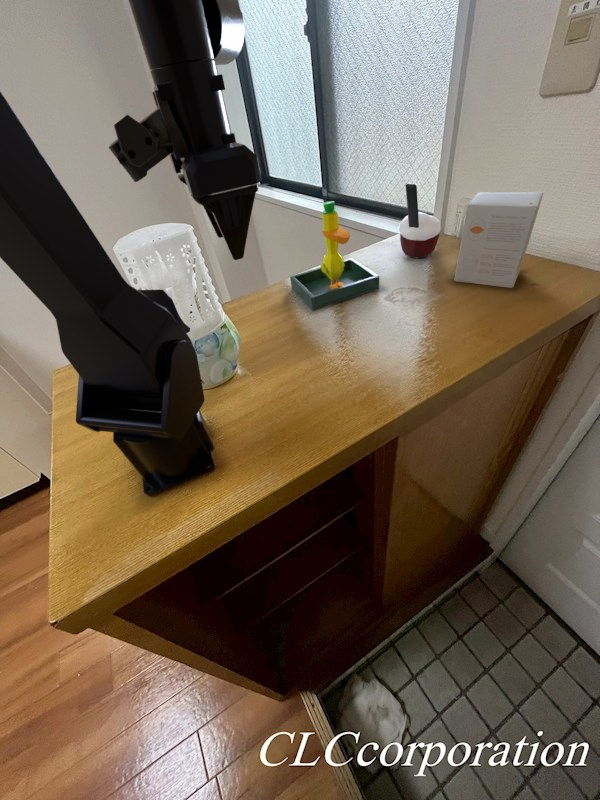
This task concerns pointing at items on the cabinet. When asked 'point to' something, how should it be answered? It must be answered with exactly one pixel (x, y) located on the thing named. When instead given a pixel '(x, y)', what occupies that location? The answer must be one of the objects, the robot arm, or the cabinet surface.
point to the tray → (317, 283)
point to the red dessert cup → (418, 228)
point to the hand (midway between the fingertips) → (229, 247)
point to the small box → (496, 237)
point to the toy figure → (333, 244)
